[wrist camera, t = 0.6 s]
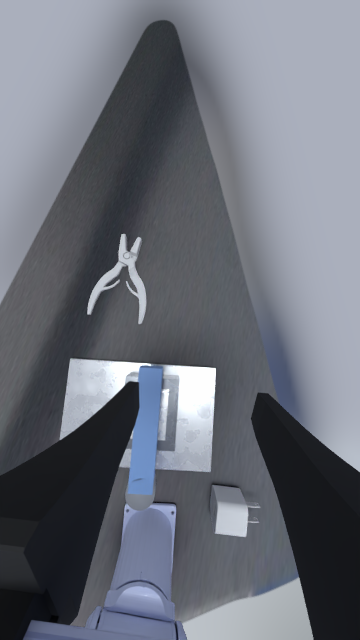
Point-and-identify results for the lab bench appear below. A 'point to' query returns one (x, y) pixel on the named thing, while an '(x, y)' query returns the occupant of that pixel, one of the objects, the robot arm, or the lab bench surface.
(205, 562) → the lab bench surface
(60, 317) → the lab bench surface
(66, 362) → the lab bench surface
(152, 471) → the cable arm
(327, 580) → the robot arm
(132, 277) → the pliers
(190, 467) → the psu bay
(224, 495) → the usb wall charger
